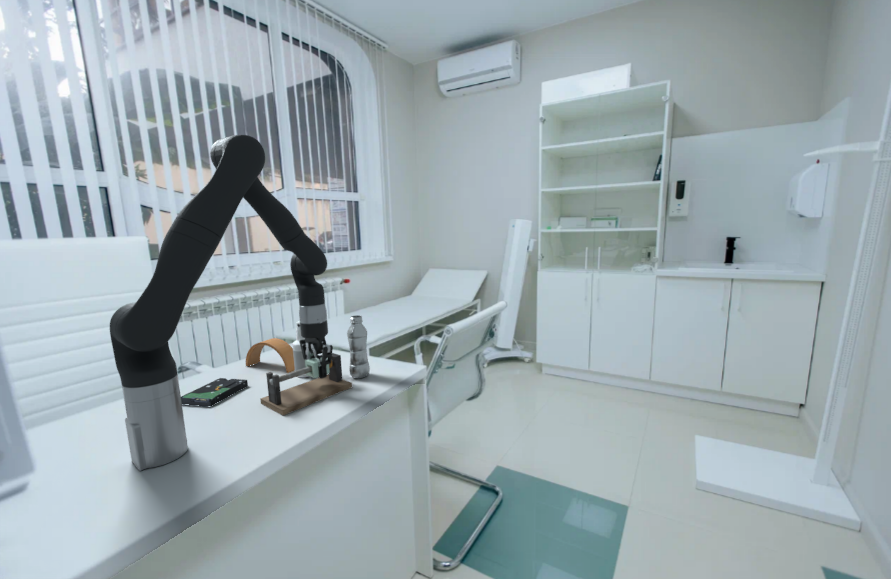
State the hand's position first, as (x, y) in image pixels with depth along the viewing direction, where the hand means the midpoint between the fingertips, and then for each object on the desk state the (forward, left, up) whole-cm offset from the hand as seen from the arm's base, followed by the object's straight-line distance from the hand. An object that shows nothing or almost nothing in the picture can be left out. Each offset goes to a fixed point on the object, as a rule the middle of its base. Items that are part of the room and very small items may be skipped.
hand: (318, 375), depth 112 cm
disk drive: (-20, +23, -6) cm, 31 cm away
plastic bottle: (+14, -1, -5) cm, 15 cm away
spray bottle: (+5, +16, -5) cm, 18 cm away
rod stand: (-4, 0, -5) cm, 6 cm away
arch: (+2, +32, -5) cm, 33 cm away
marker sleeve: (0, 0, +1) cm, 1 cm away
